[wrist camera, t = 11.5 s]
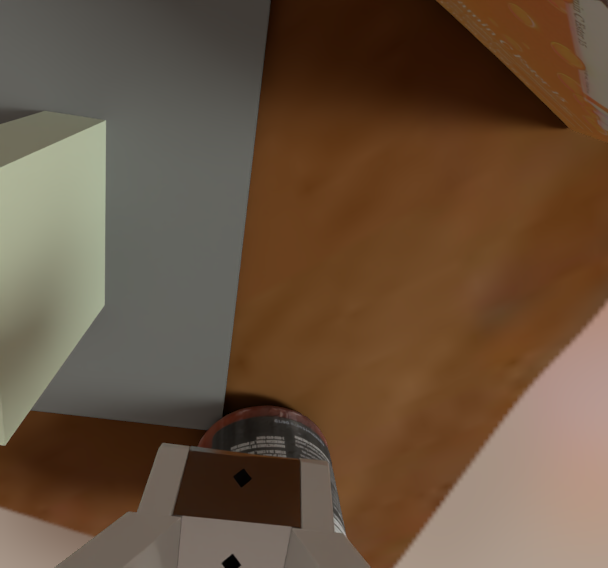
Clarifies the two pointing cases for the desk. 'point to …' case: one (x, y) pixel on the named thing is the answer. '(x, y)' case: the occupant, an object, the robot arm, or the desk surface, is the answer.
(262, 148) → the desk surface
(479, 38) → the small box
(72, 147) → the tile
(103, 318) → the mat
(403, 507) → the desk surface
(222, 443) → the supplement bottle
